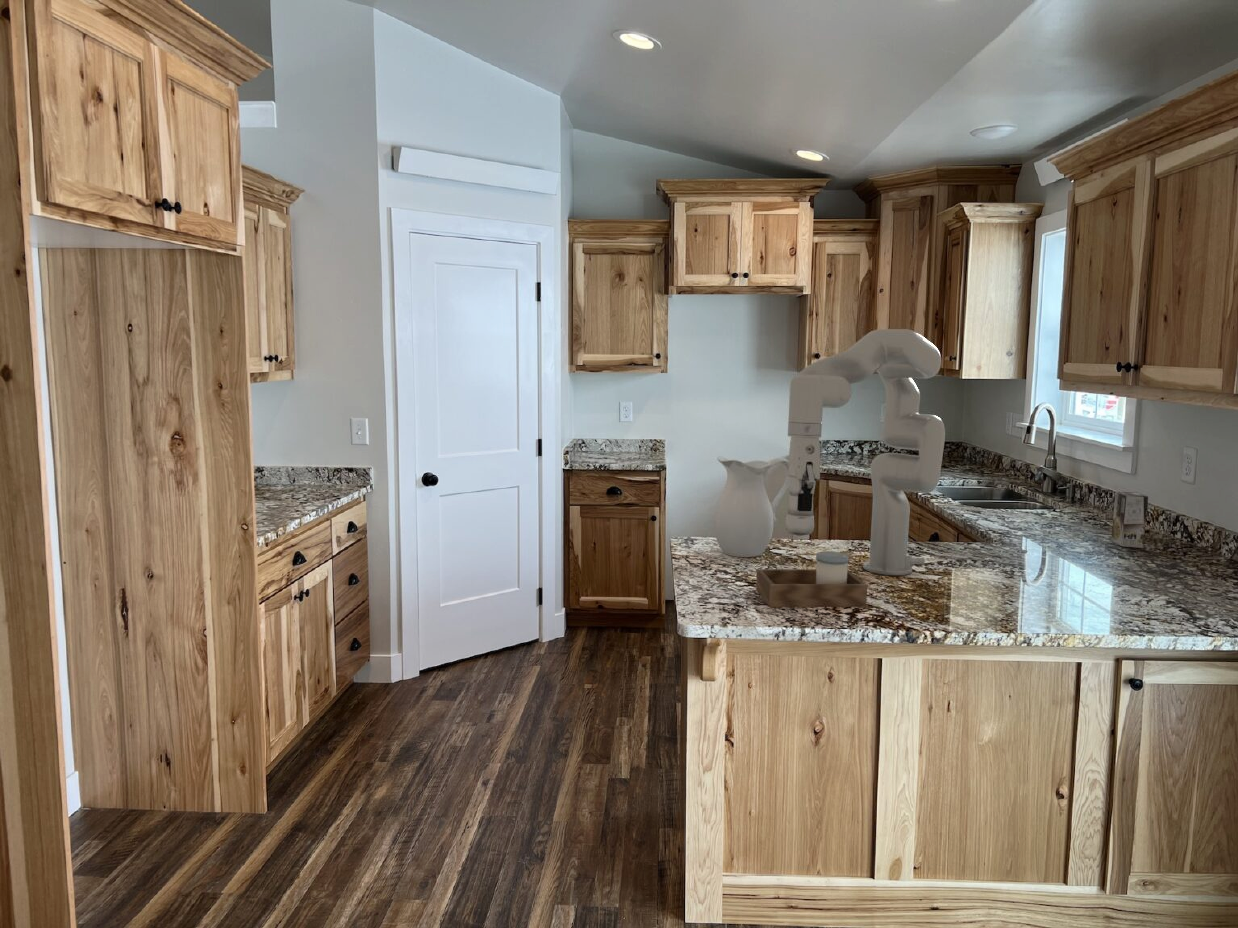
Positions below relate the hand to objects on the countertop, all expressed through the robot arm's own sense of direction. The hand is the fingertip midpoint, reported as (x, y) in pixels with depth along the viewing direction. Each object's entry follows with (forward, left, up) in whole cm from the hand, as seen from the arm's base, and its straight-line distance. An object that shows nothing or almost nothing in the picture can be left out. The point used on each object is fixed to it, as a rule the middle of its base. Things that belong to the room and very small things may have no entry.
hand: (800, 507), depth 194 cm
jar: (-8, +1, -21) cm, 23 cm away
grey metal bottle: (0, 0, -7) cm, 7 cm away
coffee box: (-122, -59, -22) cm, 137 cm away
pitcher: (-1, -48, -22) cm, 53 cm away
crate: (-3, +1, -22) cm, 22 cm away
